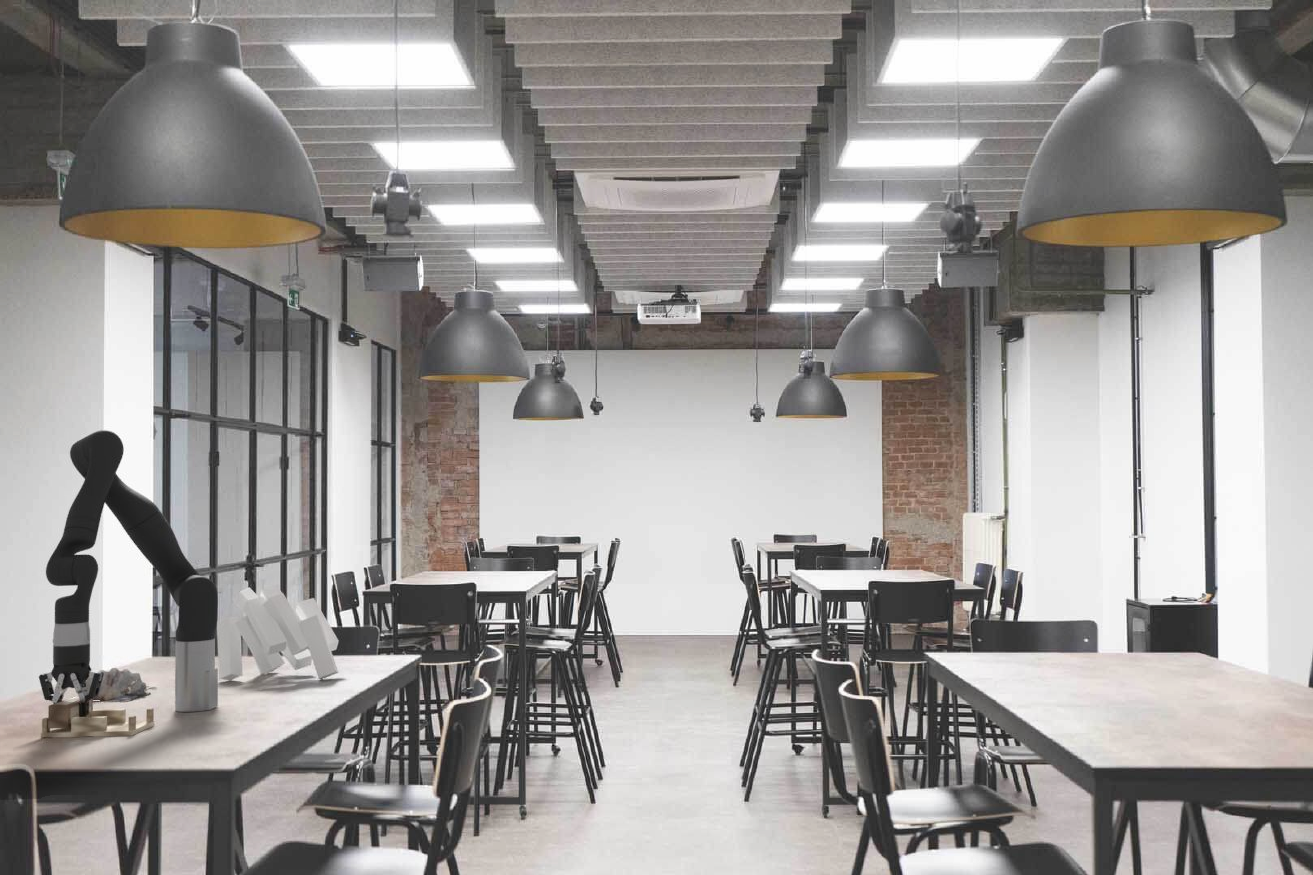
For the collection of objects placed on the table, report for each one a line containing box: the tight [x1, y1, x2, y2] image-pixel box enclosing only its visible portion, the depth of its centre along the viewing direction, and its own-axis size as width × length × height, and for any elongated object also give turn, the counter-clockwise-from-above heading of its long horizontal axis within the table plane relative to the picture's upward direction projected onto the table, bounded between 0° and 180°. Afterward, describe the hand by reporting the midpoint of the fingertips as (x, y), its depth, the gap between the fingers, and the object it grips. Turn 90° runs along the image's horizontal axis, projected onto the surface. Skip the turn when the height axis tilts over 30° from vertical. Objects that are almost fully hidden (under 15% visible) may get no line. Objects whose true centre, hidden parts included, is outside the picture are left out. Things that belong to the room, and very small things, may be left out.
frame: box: [47, 696, 94, 730], centre depth 262 cm, size 4×12×5 cm, turn 1°
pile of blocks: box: [216, 585, 340, 681], centre depth 343 cm, size 35×30×35 cm
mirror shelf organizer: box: [40, 707, 155, 738], centre depth 262 cm, size 20×12×4 cm, turn 91°
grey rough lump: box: [77, 667, 157, 703], centre depth 315 cm, size 19×10×30 cm
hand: (71, 718), depth 262 cm, fingers open, 4 cm apart
